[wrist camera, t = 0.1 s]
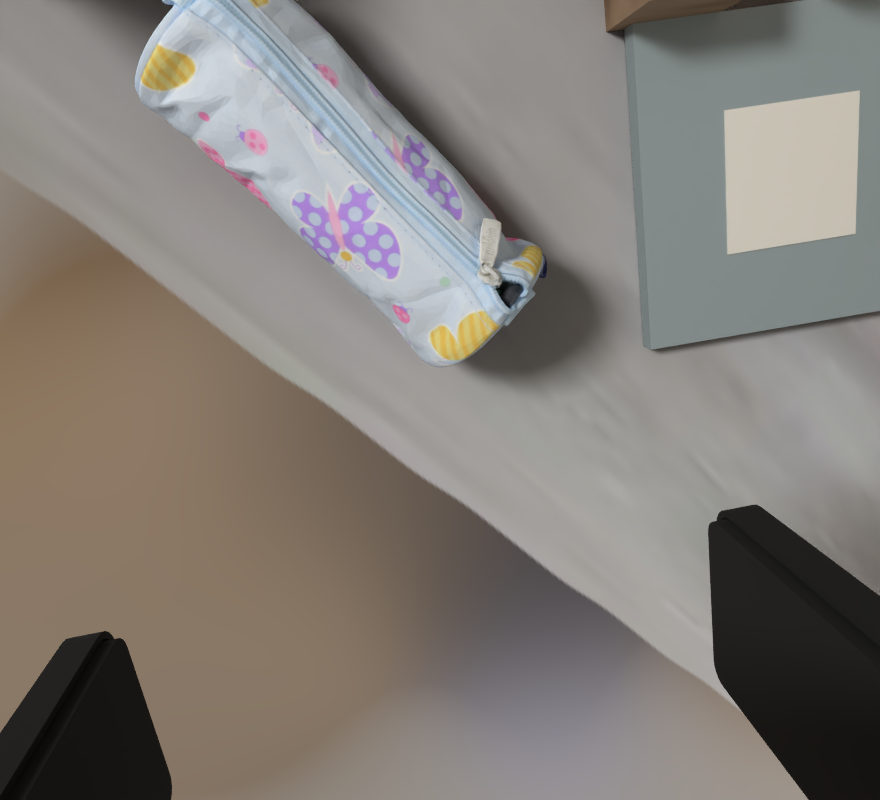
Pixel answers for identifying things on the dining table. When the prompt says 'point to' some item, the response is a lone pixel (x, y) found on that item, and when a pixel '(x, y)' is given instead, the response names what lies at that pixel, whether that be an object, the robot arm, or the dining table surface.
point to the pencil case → (339, 168)
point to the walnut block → (657, 10)
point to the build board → (755, 167)
